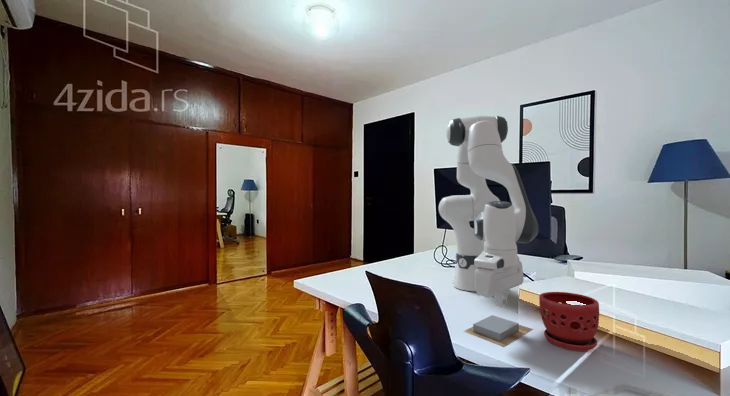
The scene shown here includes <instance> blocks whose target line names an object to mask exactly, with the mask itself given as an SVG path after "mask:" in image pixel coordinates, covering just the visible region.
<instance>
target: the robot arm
mask: <svg viewBox="0 0 730 396" xmlns="http://www.w3.org/2000/svg"><path fill="white" fill-rule="evenodd" d="M508 131H509V126H508V121H507V119H506V118H505V117H503V116H499V115H493V116H491V115H477V116H471V117H468V116H467V117H462V118H460V117H457V118H453V119H451V120H450V121H449V122H448V124H447V126H446V131H445V134H446V139H447V143H449V144H450V145H451V146H454V147H458V148H457V155H456V180H457V183H458V184H460V185H461V186H463V187H465V188H467V189H469V190H470V194H465V195H464V194H463V195H460V194H458V195H457V194H456V195H449V196H445V197H442V198H441V200H440V201H439V204H438V213H439V216H440V217H441V218H442V220H444V221H445V222H447V223H448V224H449V225H450V226H451V228H452V230H453V231H454V234H455V240H456V251H457V252H456V254H455V258H456V259H455V261H456V262H457V263H455V265H454V275H453V279H452V284H453V286H454V287H455V288H456V289H459V290H462V291H467V292H476V294H477V296H481V297H485V298H491V297H493V298H494V299H495V306H497V307H498V308H501V307H504V306H506V305H507V304H508V298H509V295H510V290H511V289H513V288H516V287H518V286H521V285H523V283H524V269H523V264H522V261H521V260H520V257H519V255H518V245H517V244H529V243H530V242H532V241H533V240H534V239H536V237H537V236H538V234H539V223H538V220H537V218H536V216H535V214H534V212H533V209H532V207H531V204H530V202H529V198H528V195H527V193H526V190H525V186H524V184H523V181H522V177H521V176H520V173H519V171H518V169H517V167H516V165H515V164H513V163H511V162H510V161H509V160H508V159H507V158H506V156H505V155H504V151H503V146H502V143H503V142H504V141H505V140H506V139H507V136H508V133H509V132H508ZM486 180H490V181H492V182H493V181H494V182H496V183H498V184H500V185H502V186H503V187H504V188H506V190H507V192H508V195H509V198H510V201H511V202H509V201H503V200H502V201H501V200H500V198H499V197H498V196H496V195H494V194H493V192H492V191H491V190H490V189H489V187H488V185H487V181H486ZM470 222H473V227H471V224H470Z"/></svg>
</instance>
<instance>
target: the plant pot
mask: <svg viewBox="0 0 730 396" xmlns="http://www.w3.org/2000/svg"><path fill="white" fill-rule="evenodd" d="M538 296H539V297H538V298H539V300H538V301H539V313H540V316H541V320H542V323H543V325H544V327H545V330H544V331H543V334H544V337H545V339H546V340H547V341H548V342H550V343H551V344H553V345H554V346H557V347H560V348H562V349H565V350H570V351H576V352H586V351H591V350H594V349H595V348H596V347H597V346H598V340H597V338H596V337H595V335H596V333H597V331H598V328H599V322H600V321H599V320H600V303H599V301H598V300H597V299H595V298H594V297H591V296H587V295H584V294H579V293H573V292H567V291H566V292H565V291H547V292H543V293H541V294H539V295H538ZM566 301H577V302H580V303H583V304H586V305H581V304H580V305H571V304H567V303H566ZM546 310H547V313H548V314H546Z"/></svg>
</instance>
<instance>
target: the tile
mask: <svg viewBox="0 0 730 396" xmlns="http://www.w3.org/2000/svg"><path fill="white" fill-rule="evenodd" d="M519 325H520V323H519V322H517V321H516V322H515V321H512V320H510V319H506V318H503V317H501V316H496V315H490V316H487V317H486V318H483V319H481V320H478V321H477V322H475V323H473V324H472V327H473V331H474V332H477V333H480V334H482V335H485V336H488V337H490V338H493V339H496V340H498V341H502V340H503V339H505V338H507V337H508V336H510V335H512V334H514V333H515V332H517V331H519Z"/></svg>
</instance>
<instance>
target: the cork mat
mask: <svg viewBox="0 0 730 396" xmlns="http://www.w3.org/2000/svg"><path fill="white" fill-rule="evenodd" d="M532 330H534V329H533V328H531V327H527V326H524V325H522V324H519V331H517V332H515V333H514V334H512V335H510V336H508V337H507V338H505V339H503V340H502V341H498V340H496V339H493V338H490V337H488V336H485V335H482V334H480V333H477V332H474V331H473V326H471V327H469V328H467V329H465V330H463V332H464V333H466V334H469V335H472V336H474V337H477V338H480V339H482V340H484V341H487V342H489V343H491V344H495V345H498V346H500V347H502V348H505V347H506V346H508V345H510V344H511V343H513V342H515V341H516V340H519V338H521V337H523V336H525V335H526V334H528V333H529V332H531V331H532Z"/></svg>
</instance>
